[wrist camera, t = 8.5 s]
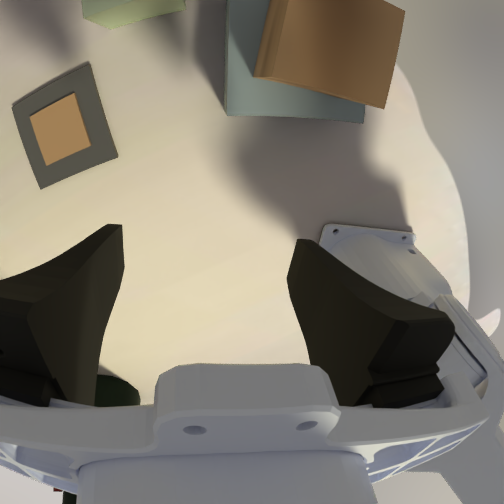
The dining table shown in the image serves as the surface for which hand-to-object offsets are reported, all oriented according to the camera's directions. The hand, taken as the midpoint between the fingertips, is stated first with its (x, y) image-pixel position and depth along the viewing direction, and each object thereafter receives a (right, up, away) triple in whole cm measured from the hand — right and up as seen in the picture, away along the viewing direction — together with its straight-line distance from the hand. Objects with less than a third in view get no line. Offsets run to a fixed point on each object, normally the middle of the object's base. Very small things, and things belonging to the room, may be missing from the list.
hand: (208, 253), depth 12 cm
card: (-11, +9, +5) cm, 15 cm away
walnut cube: (+5, +11, +1) cm, 12 cm away
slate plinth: (+4, +13, +5) cm, 14 cm away
